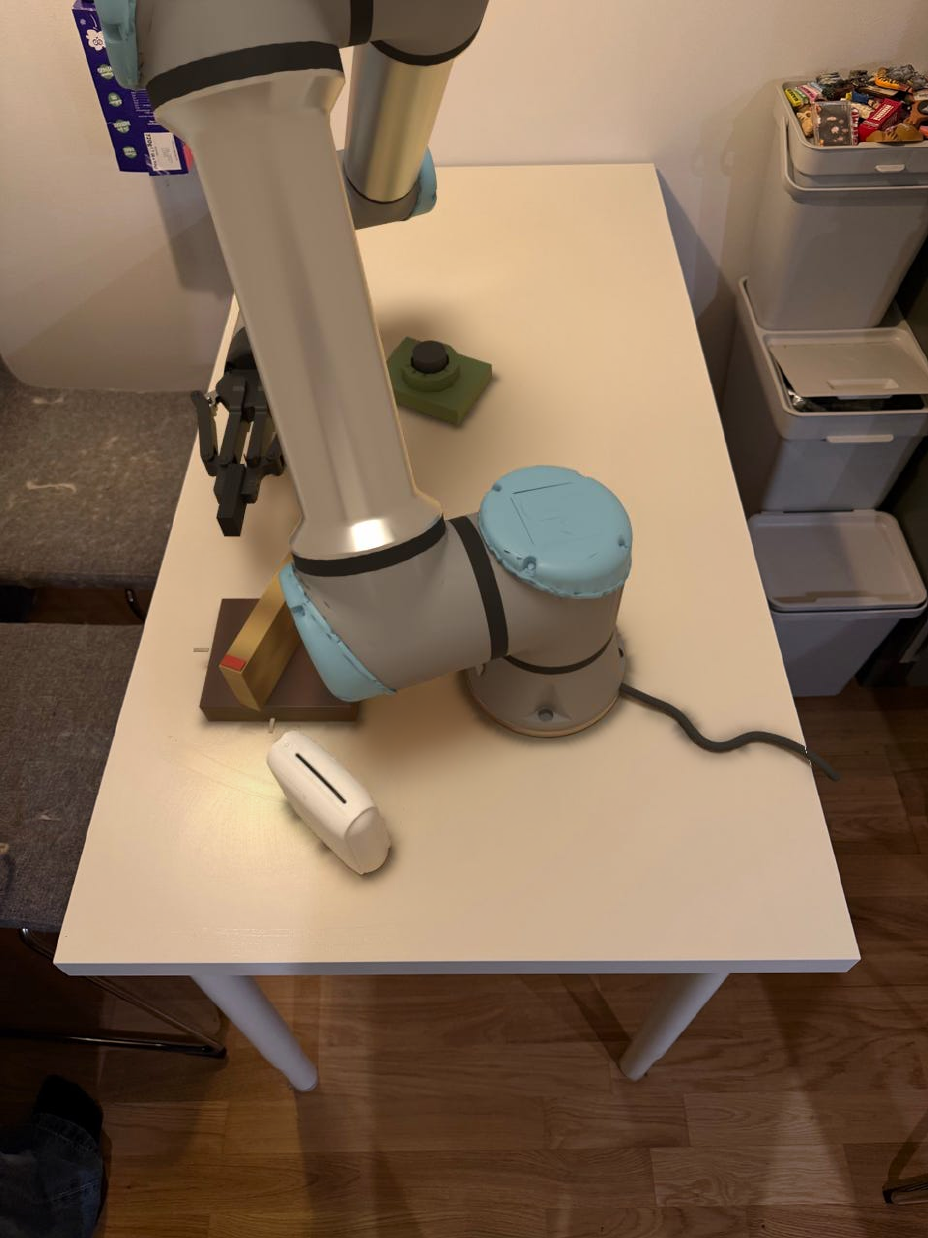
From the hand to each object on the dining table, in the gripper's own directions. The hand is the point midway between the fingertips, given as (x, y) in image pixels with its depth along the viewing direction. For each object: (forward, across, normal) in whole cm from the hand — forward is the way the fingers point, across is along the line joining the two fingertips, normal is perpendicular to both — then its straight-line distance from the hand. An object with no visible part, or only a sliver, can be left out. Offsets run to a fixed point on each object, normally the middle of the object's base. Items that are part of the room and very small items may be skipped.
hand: (228, 527), depth 76 cm
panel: (+7, -4, -12) cm, 15 cm away
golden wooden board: (+7, -4, -9) cm, 13 cm away
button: (-32, -16, -9) cm, 37 cm away
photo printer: (+23, -10, -13) cm, 29 cm away
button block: (-32, -16, -12) cm, 38 cm away
